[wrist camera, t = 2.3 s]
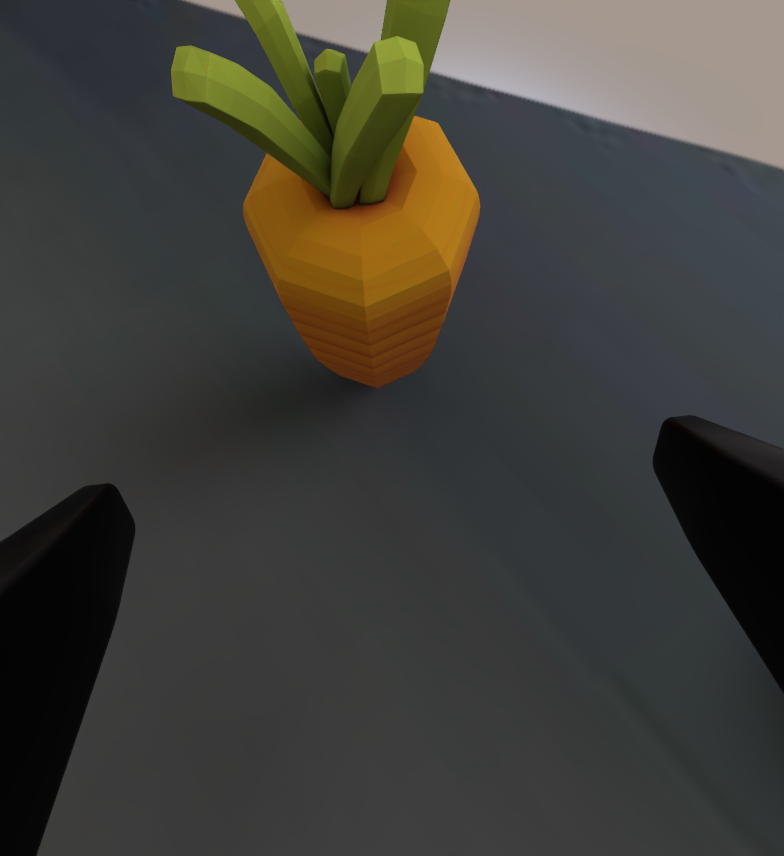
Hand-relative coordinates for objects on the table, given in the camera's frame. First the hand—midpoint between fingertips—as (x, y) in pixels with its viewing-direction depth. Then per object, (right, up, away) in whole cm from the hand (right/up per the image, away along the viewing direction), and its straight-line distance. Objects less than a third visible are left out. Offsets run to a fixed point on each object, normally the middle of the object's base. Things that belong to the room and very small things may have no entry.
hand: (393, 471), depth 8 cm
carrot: (-1, +3, +12) cm, 13 cm away
